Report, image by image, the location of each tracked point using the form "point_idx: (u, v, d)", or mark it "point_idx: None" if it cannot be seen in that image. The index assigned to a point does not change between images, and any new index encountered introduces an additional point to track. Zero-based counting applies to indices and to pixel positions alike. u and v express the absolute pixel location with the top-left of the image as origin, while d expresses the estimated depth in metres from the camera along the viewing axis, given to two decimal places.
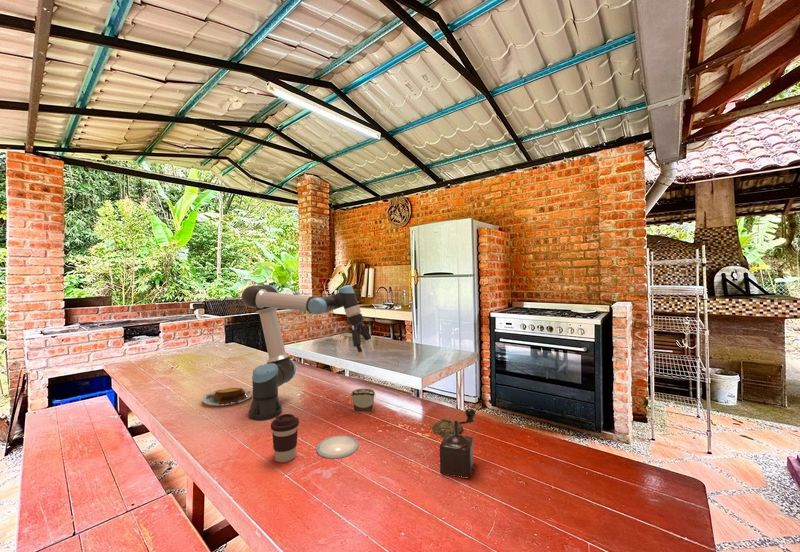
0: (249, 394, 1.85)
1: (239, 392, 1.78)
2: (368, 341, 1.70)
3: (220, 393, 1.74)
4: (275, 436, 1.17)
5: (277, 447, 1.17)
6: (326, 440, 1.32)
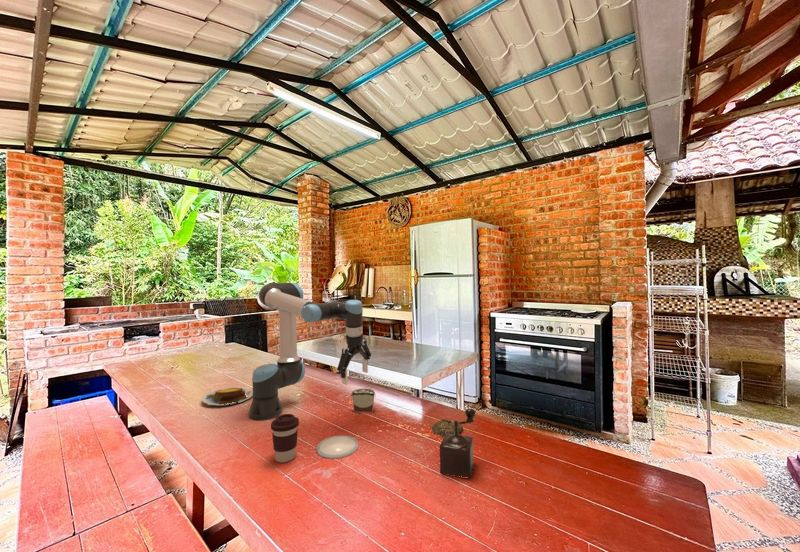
0: (249, 394, 1.85)
1: (239, 392, 1.78)
2: (365, 361, 1.54)
3: (220, 393, 1.74)
4: (275, 436, 1.17)
5: (277, 447, 1.17)
6: (326, 440, 1.32)
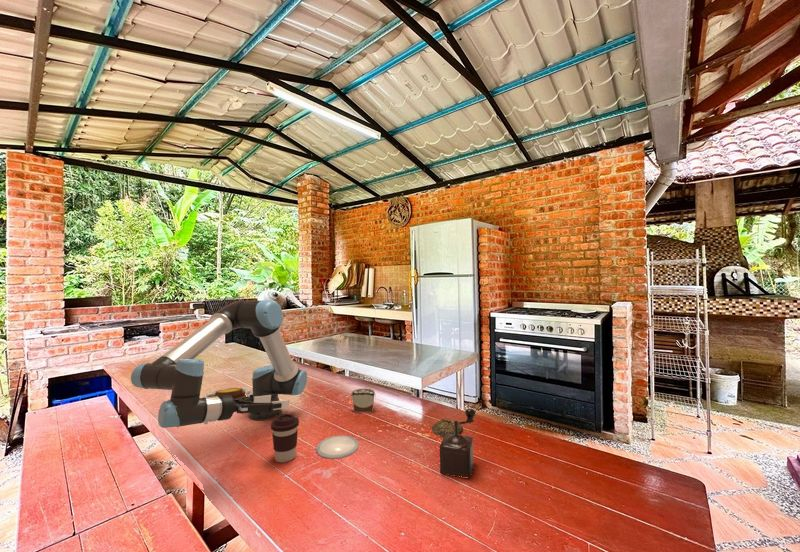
0: (249, 394, 1.85)
1: (239, 392, 1.78)
2: None
3: (220, 393, 1.74)
4: (275, 436, 1.17)
5: (277, 447, 1.17)
6: (326, 440, 1.32)
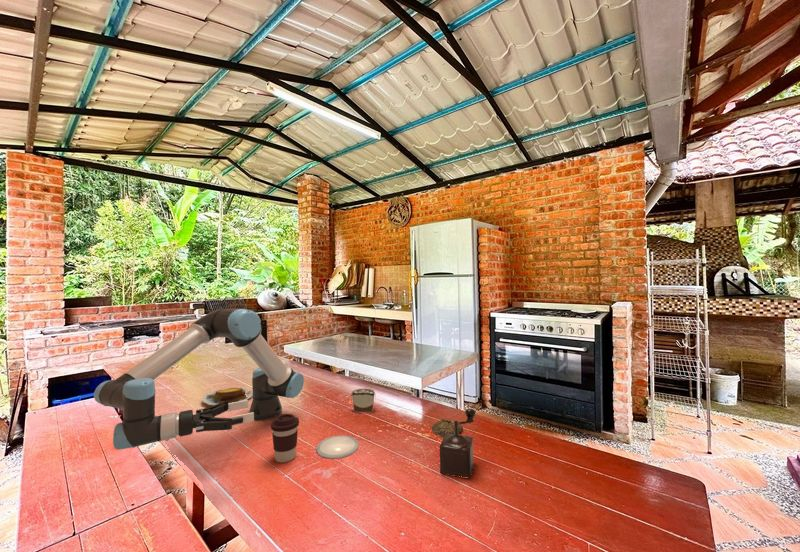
0: (249, 394, 1.85)
1: (239, 392, 1.78)
2: None
3: (220, 393, 1.74)
4: (275, 436, 1.17)
5: (277, 447, 1.17)
6: (326, 440, 1.32)
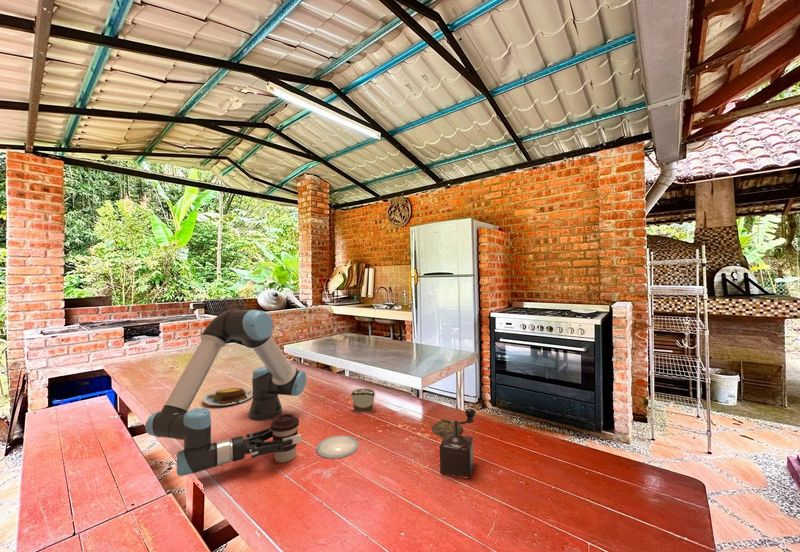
0: (250, 394, 1.85)
1: (240, 392, 1.78)
2: None
3: (221, 393, 1.74)
4: (275, 436, 1.17)
5: None
6: (326, 440, 1.32)
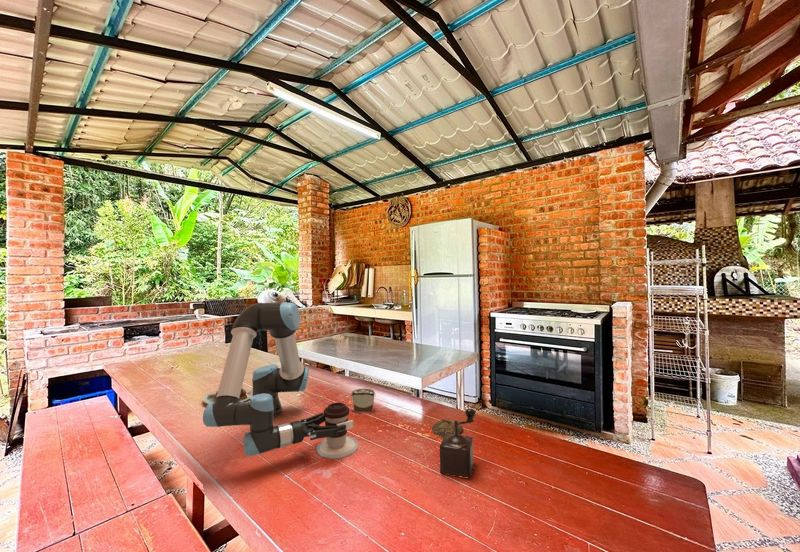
0: (250, 394, 1.85)
1: None
2: None
3: None
4: (328, 423, 1.24)
5: None
6: (326, 440, 1.32)
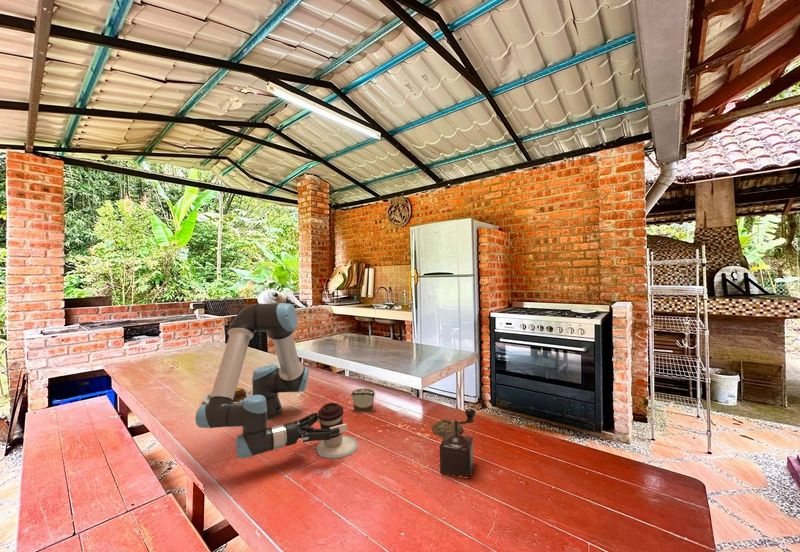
0: (250, 394, 1.85)
1: (240, 392, 1.78)
2: None
3: None
4: (323, 425, 1.24)
5: None
6: None
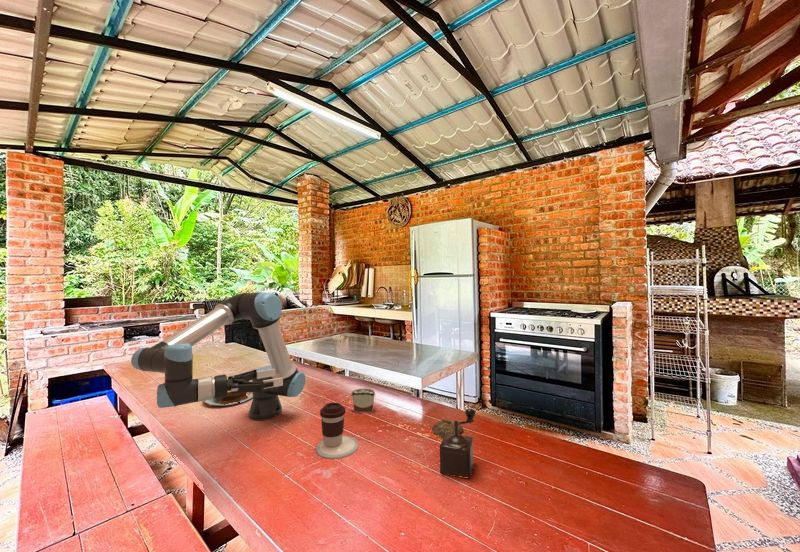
0: (251, 394, 1.85)
1: None
2: None
3: None
4: (325, 423, 1.25)
5: (327, 433, 1.25)
6: None
